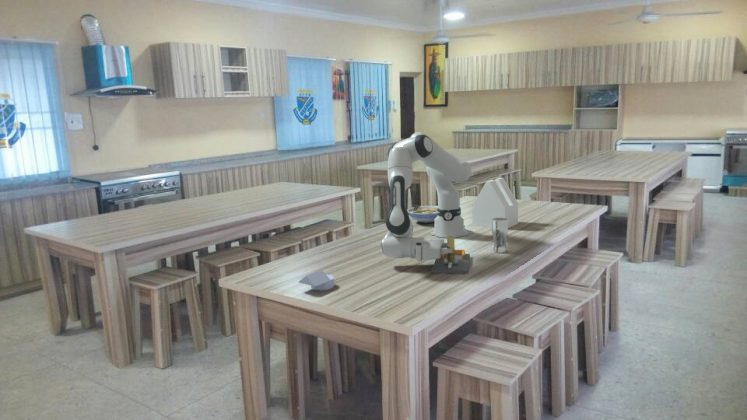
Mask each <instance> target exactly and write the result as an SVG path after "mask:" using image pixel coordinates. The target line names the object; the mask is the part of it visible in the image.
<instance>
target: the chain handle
mask: <svg viewBox="0 0 747 420" xmlns="http://www.w3.org/2000/svg"><path fill="white" fill-rule="evenodd" d="M446 243H447V248H452V249H453V252H452V253H447V259H444V262H443V264H447V265H448V268H449V269H450V268H451V267H452V265H458V263H459V259H455V250H456V249H455V245H456V244H455V243H456V242H455V237H453V236H448V237H447V238H446ZM447 248H446V249H447Z"/></svg>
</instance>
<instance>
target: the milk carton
mask: <svg viewBox="0 0 747 420" xmlns="http://www.w3.org/2000/svg"><path fill="white" fill-rule="evenodd" d="M471 206H472V209H471V211H472V227H473V226H475V227H481V228H489V229H492V219H493V218H499V217H500V218H507V221H508V229H510V228H512V227H514V226H517V225H518V224H519V203H518V201H517V199H516V197H515V195H514V194H513V192H512V190H511V189H510V187H509V185H508V183H507V182H506V180H505V178H504V177H498V178H495V179H490V180H486V182H485V183H484V185H483V187H482V188H481V189H480V191H479V193H478V195H477V196H476V199H475V200H474V201H473V204H472V205H471Z"/></svg>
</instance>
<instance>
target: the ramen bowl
mask: <svg viewBox="0 0 747 420" xmlns="http://www.w3.org/2000/svg"><path fill="white" fill-rule="evenodd" d="M437 208H438V205H420V203H418V204H417V203H415V205H414V206H413V207H410V208H409V207H408V208H406V212H407V214H408V216H409V217H411V219H413V220H415V221H417V222H420V223H421V224H432V223H435V218H436V217H437V216H438V215H437Z"/></svg>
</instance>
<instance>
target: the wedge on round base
mask: <svg viewBox="0 0 747 420" xmlns="http://www.w3.org/2000/svg"><path fill="white" fill-rule="evenodd" d="M298 283H299V284H304V285H307V286H310V288H311V290H314V291H328V290H331V289H333V288H335V276H334V275H331V274H327V273H326V272H324V271H323V270H322V269H319V270H317V271H315V272H313V273H310V274H307V275H305V276H304V277H302V278H301V279H300V280H299V281H298Z"/></svg>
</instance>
